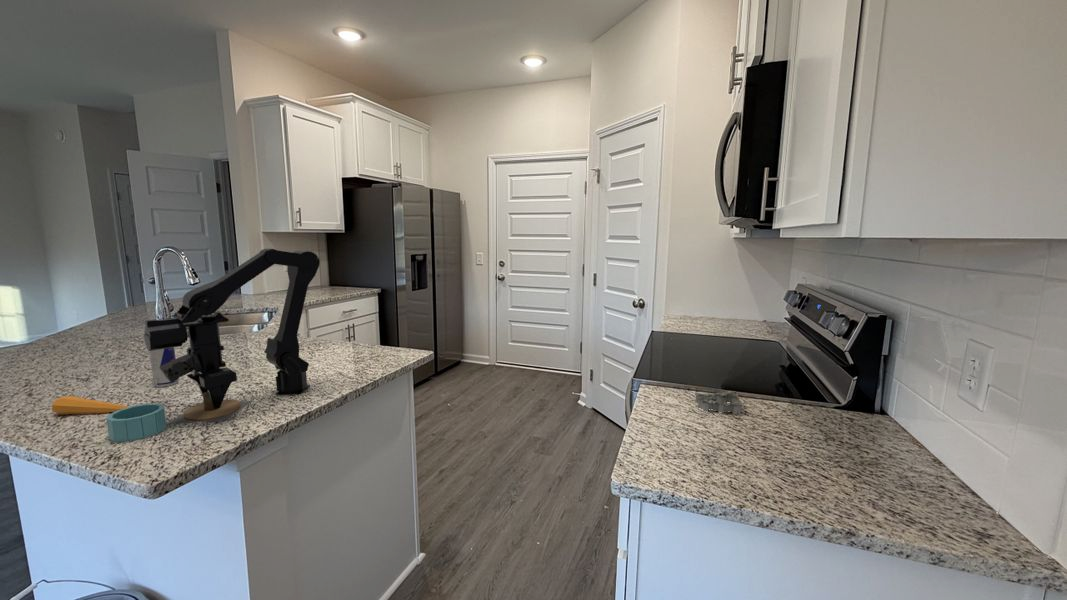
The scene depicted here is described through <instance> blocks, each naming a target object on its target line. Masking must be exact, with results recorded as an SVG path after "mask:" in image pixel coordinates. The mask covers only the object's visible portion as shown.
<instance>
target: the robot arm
mask: <svg viewBox="0 0 1067 600" xmlns="http://www.w3.org/2000/svg"><path fill="white" fill-rule="evenodd" d="M320 260H321V259H320V258H319V257H318V255H317V254H316V253H315V252H312V251H308V250H306V251H305V250H296V251H293V252H289V251H284V250H283V251H282V250H278V249H275V248H264V249H261V250H260V251H259V252H258V253H256V254H255V255H254V256H252V257H250V258H249V259H248V260H246V261H245V262H243V263H241V264H240V265H238V266H237V267H235V268H233V269H232V270H230V271H229V272H228V273H226V274H224V275H223V276H222V277H220V278H218V279H216V280H213V281H211V282H209V283H205V284H203V285H199V286H198V287H195V288H193V289H191V290H189V291H187V292H186V293H185V294H184V295H183V296H182V304H181V306H180V308H179V309H178V310H177V311H176V313H175V314H174V315H173V316H172V317H171V318H162V319H145V321H144V323H145V324H144V325H145V326H144V333H143V338H144V344H145V346H146V350H147V352H150V351H154V350H160V349H167V348H173V347H174V348H178V347H183V344H186V342H187V341H189V347H187V348H186V354H185V355H182V356H179V357H177V358H176V359H174V360H172V361H170V362H168V363H166V364H164V365H162V366H160V367H159V368H160V370H161V371H162V372H163V374H164V375H165V377H166V378H167V379H168V380H169V381H170V382H172V381H175V380H177V379H178V380H179V378H181V377H184V376H185V375H186V376H187V378H189V379H191V380H193V381H194V382H196V385H197V386H198V388H199V390H200V393H201V395H202V396H203V393H204V392H207V391H208V393H209V396H210V399H211V402H212V405H213V407H214V409H217V408H220V406H221V404H222V401H223V400H225V396H226V394H227V392H228V391H229V387H230V386H231V384H232V383H234V382H236V381H238V377H237V372H236V371H234V370H232V369H230V367H229V368H228V367H227V365H226V361H224V360H223V351H224V350H225V347H224V345H223V344H221V336H220V335H221V334H220V325H219V323H225V322H226V323H227V322H229V318H227V317H226V316H224V315H223V314H222V313H221V312H220V311H218V310H219V309H220V308H221V307H222V306H223V305H224V304H226V302H227V300H228V299H229V298H230V297H231V295H232V294H233V293H234V292H236V291H238V290H239V289H240V288H241V287H243V286H245V285H246V284H247V283H249V282H250V281H251V280H253V279H255V278H256V277H257V276H259V275H261V274H263V273H264V272H265V271H266V270H268V269H269V268H271V267H272V266H274V265H279V266H287V267H286V268H287V269H286V270H287V271H286V272H287V276H288V277H287V278H288V281H289V282H288V287H287V290H286V291H287V292H286V297H285V301H284V305H283V309H282V312H281V313H282V314H281V318H280V322H279V327H278V331H277V333H276V334H275V335H274V337H273V338H272V337H271V338H270V337H268V338H267V340H266V348H265V350H264V352H263V353H264V354H266V355H265V358H266V360H267V361H268V363H269V364H272V365H273V366H274V367H275V369H276V370H278V371H277V372H276V373H277V374H276V375H277V376H275V384H276V391H277V392H276V393H275V395H276V396H287V395H288V396H290V395H291V396H292V395H301V394H303V393H304V392H305V391H307V389H309V388H310V386H311V385H310V384H308V380H307V377H308V376H307V371H308V368H309V366H310V363H309V362H307V361H306V360H305V359H302V358H301V357H300V343H299V339H298V338H299V337H298V333H299V328H300V325H301V319H302V315H303V309H304V306H305V302H306V297H307V292H308V289H309V285H310V283H312V281H313V279H314V278H315V277H316V274H317V272H318V271H319V268H320V264H321V261H320ZM187 328H188V329H187ZM188 337H189V338H188ZM188 339H189V340H188Z"/></svg>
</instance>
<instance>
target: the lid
mask: <svg viewBox="0 0 1067 600" xmlns="http://www.w3.org/2000/svg"><path fill="white" fill-rule="evenodd" d="M202 398H203V399H202V400H203V401H202V402H201V403H202V404H201V403H199V404H196V405H194V406H191V407H189V408H187V409H186V410H185V411H184V412H183V414H184V419H186V420H189V421H203V420H210V419H215V418H219V417H223V416H226V415H229V414H231V413H233V412H235V411H237V410H238V409H239V408H240V402H239V400H237V399H223V401H222V404H221V406H220V408H217V409H214V407H213V405H212V402H211V399H210V396H209V393H208V391H207V392H204V393H203V395H202Z"/></svg>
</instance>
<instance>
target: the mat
mask: <svg viewBox="0 0 1067 600" xmlns="http://www.w3.org/2000/svg"><path fill="white" fill-rule="evenodd" d="M238 401H239V400H238ZM239 402H240V408H239V409H238V410H237V411H235V412H233V413H231V414H229V415H226V416H223V417H219V418H215V419H210V420H203V421H189V420H186V419H184V413H183V414H181V415H179V416H177V417H176V418H174V419H173V420H171V421H169V422H168V424H183V423H204V422H205V423H206V422H207V423H210V422H226V421H227V420H228V419H230V418H231V417H232V416H234V415H235V414H237V413H238V412H240V411H241V410H242V409H244V408H246V407H247V406H248V405H249V404H251V403H253V400H242V401H241V400H240V401H239ZM202 403H203V402H201V403H200V404H202Z"/></svg>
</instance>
